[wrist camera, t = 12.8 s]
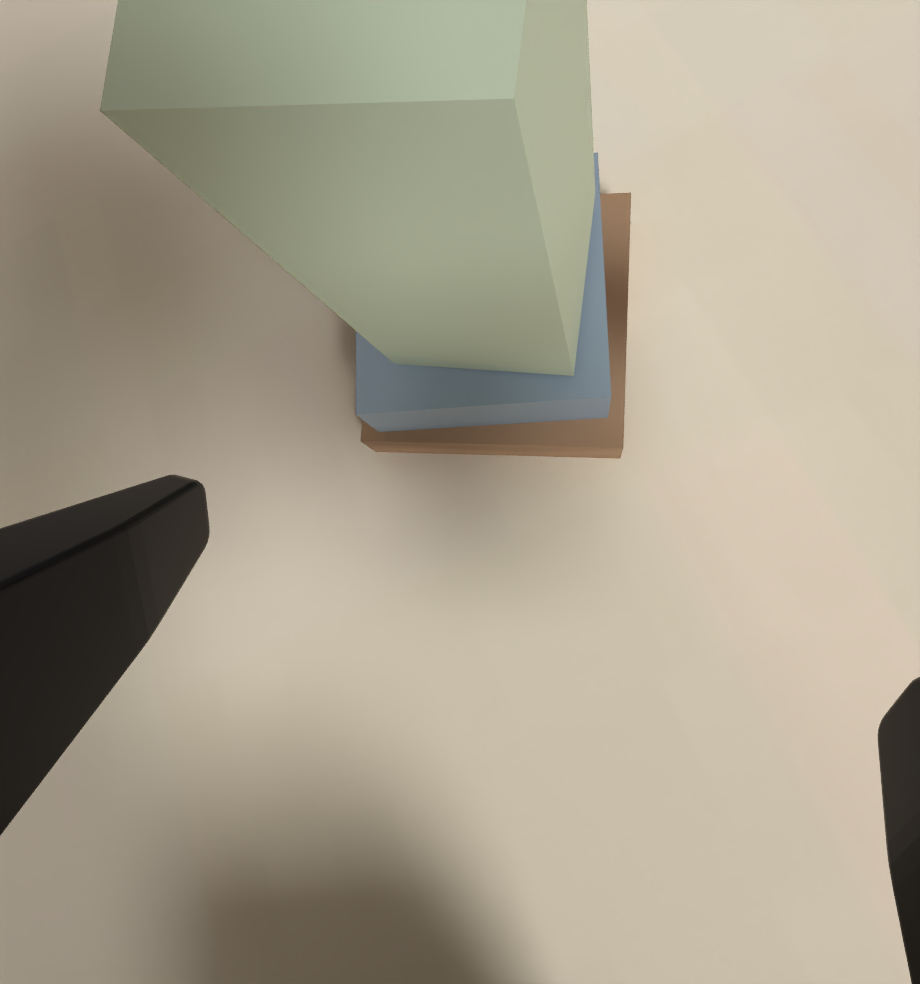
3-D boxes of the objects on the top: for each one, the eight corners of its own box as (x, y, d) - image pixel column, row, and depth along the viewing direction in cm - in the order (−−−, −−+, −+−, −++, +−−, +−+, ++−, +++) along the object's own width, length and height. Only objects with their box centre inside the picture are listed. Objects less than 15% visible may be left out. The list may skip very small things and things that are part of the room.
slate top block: (607, 417, 19) (611, 396, 17) (379, 432, 21) (355, 414, 19) (595, 197, 21) (597, 152, 18) (378, 224, 22) (356, 184, 20)
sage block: (573, 375, 17) (514, 98, 7) (394, 363, 19) (100, 111, 8) (595, 192, 18) (570, -351, 7) (417, 191, 19) (163, -277, 8)
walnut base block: (618, 462, 21) (623, 447, 19) (381, 455, 23) (360, 441, 21) (625, 230, 23) (631, 192, 20) (398, 238, 24) (381, 203, 22)
